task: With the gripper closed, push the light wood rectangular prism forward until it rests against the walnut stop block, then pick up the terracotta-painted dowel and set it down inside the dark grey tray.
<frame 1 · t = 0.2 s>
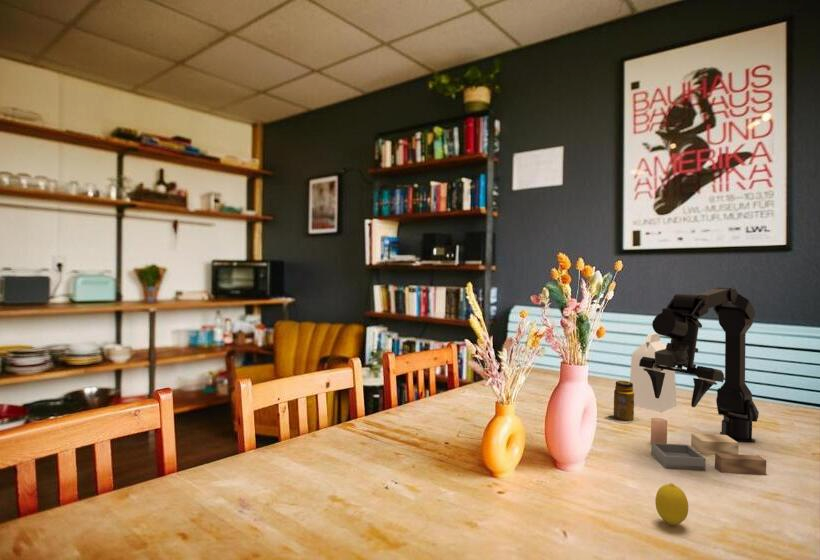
hand: (674, 402, 120), 15 cm above the table, tool pointing down, fingers open, 9 cm apart
lemon: (671, 526, 91), on the table
tray: (677, 462, 121), on the table
milk: (652, 405, 172), on the table
stop block: (740, 470, 116), on the table
dowel: (658, 444, 133), on the table
condiment: (621, 419, 156), on the table
light wood rectangular prism: (713, 452, 128), on the table
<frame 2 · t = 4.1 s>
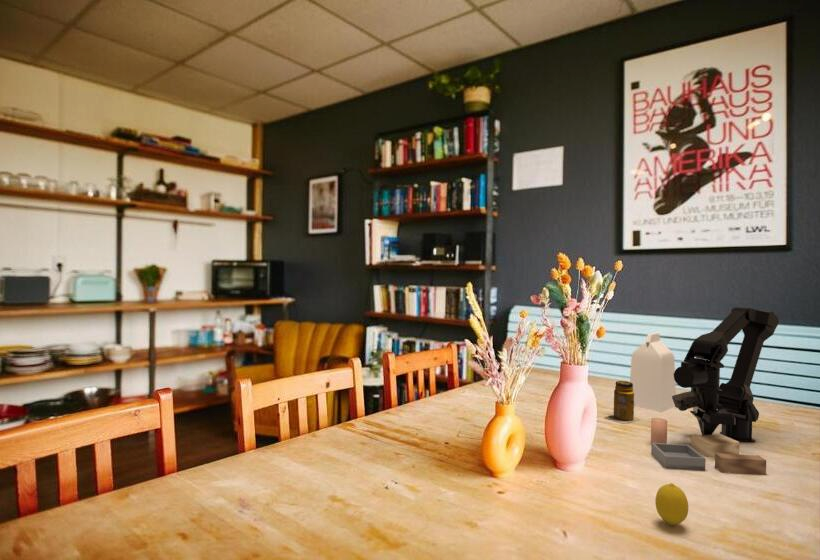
hand: (705, 439, 132), 2 cm above the table, tool pointing down, fingers closed
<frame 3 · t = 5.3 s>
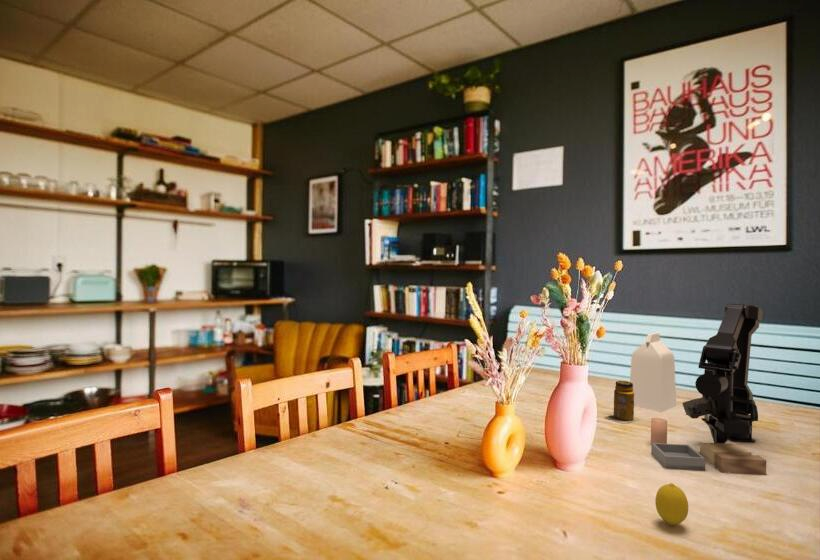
hand: (718, 448, 126), 2 cm above the table, tool pointing down, fingers closed
light wood rectangular prism: (724, 462, 121), on the table, touching gripper
everything else where it was.
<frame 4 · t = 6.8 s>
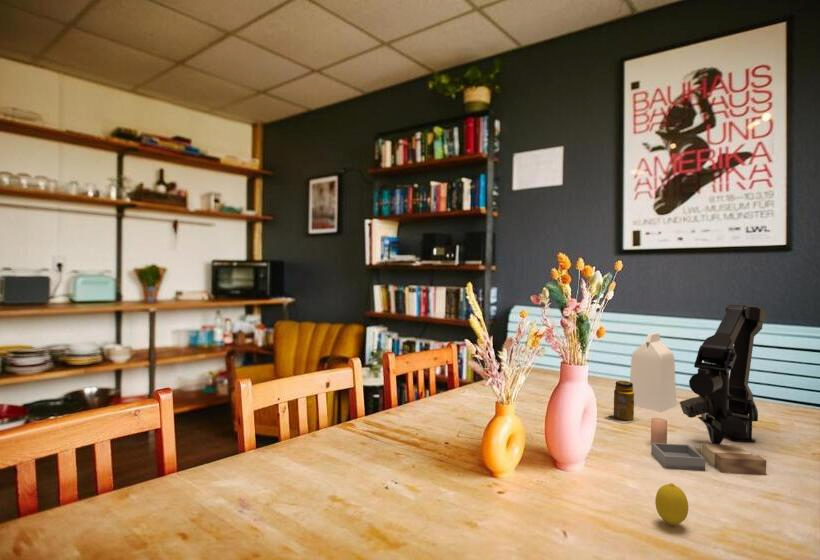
hand: (715, 446, 128), 1 cm above the table, tool pointing down, fingers closed
light wood rectangular prism: (725, 464, 120), on the table
everything else where it was.
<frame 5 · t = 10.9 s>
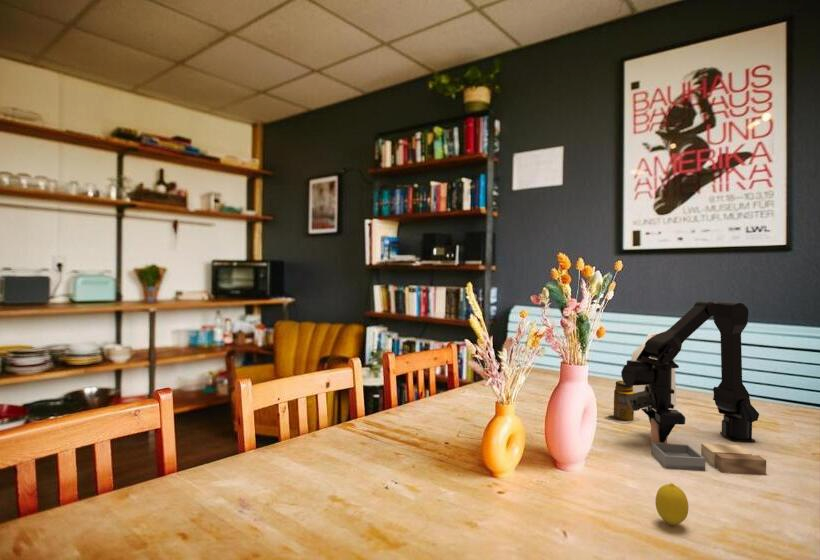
hand: (658, 439, 133), 2 cm above the table, tool pointing down, fingers closed on dowel, 4 cm apart
dowel: (658, 444, 133), on the table, touching gripper
everything else where it was.
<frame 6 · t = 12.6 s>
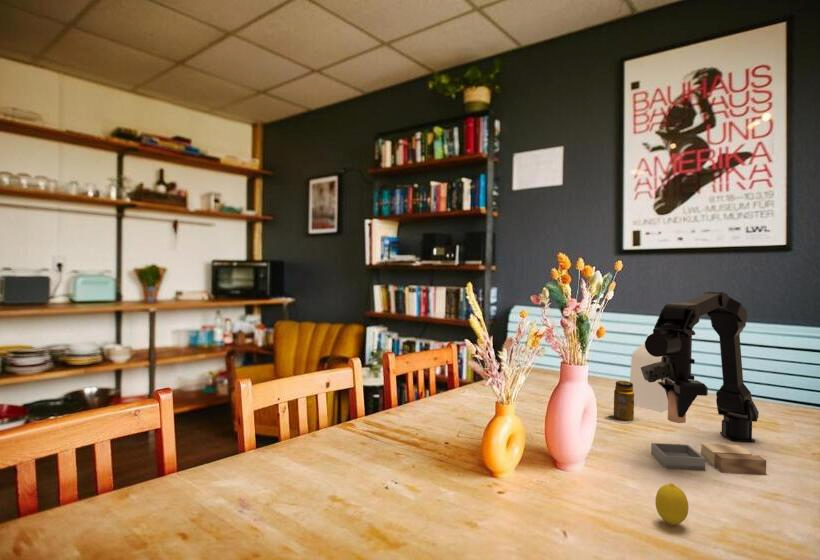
hand: (677, 414, 121), 12 cm above the table, tool pointing down, fingers closed on dowel, 4 cm apart
dowel: (676, 420, 121), point 11 cm above the table, touching gripper
everything else where it was.
when the fingers open (4 cm above the table, at t = 14.4 s): dowel drops 1 cm, resting on tray.
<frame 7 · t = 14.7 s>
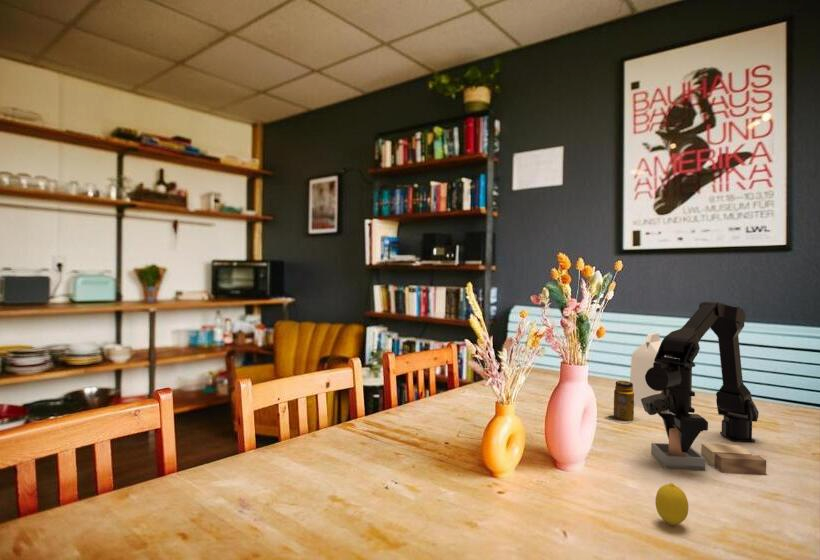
hand: (677, 446, 121), 4 cm above the table, tool pointing down, fingers open, 7 cm apart
dowel: (676, 457, 121), point 1 cm above the table, touching tray
everything else where it was.
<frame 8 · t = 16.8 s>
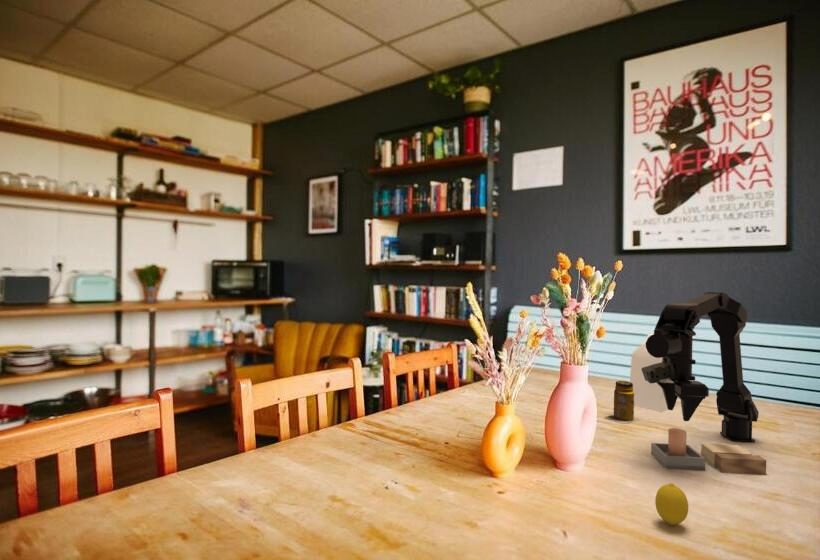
hand: (677, 415, 121), 12 cm above the table, tool pointing down, fingers open, 9 cm apart
nothing on the table moved.
at the end: light wood rectangular prism inside the target area (1.0 cm from its centre), on the table; dowel inside the target area on the tray (0.1 cm from its centre), point 1.0 cm above the tray's base; dowel tilted 0° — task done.
